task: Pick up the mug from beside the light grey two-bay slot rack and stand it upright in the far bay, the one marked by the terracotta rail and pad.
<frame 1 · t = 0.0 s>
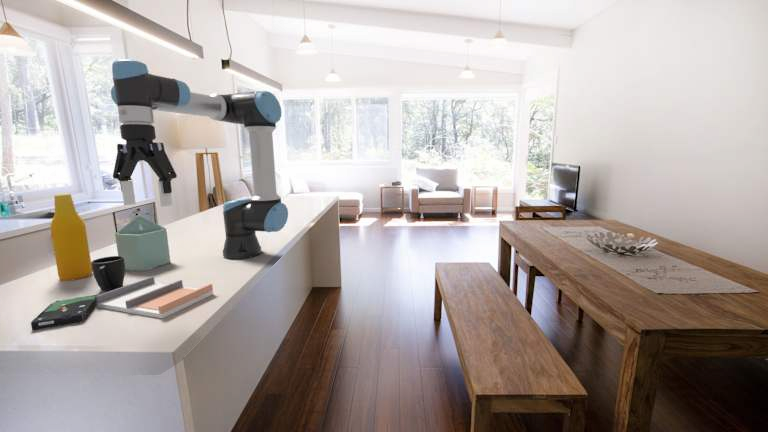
hand: (147, 205, 98), 28 cm above the table, tool pointing down, fingers open, 13 cm apart
planter: (144, 268, 136), on the table
disk drive: (69, 317, 96), on the table
mug: (110, 290, 114), on the table
slot rack: (157, 300, 104), on the table
beer bottle: (76, 277, 128), on the table
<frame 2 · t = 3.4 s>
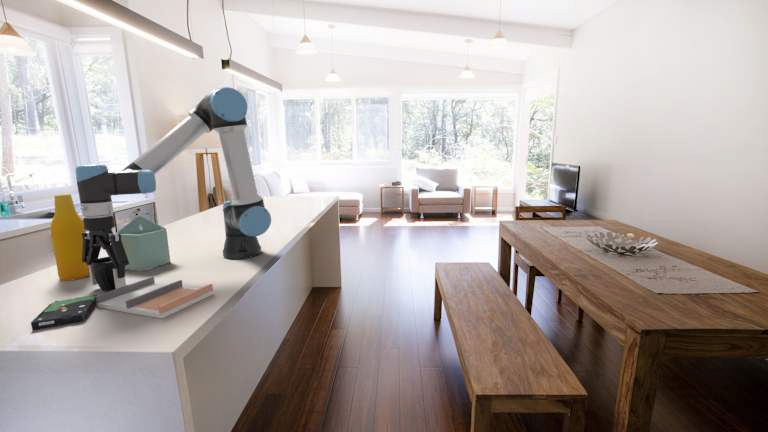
hand: (108, 285, 113), 1 cm above the table, tool pointing down, fingers open, 10 cm apart
mug: (110, 290, 114), on the table, touching gripper
everything else where it was.
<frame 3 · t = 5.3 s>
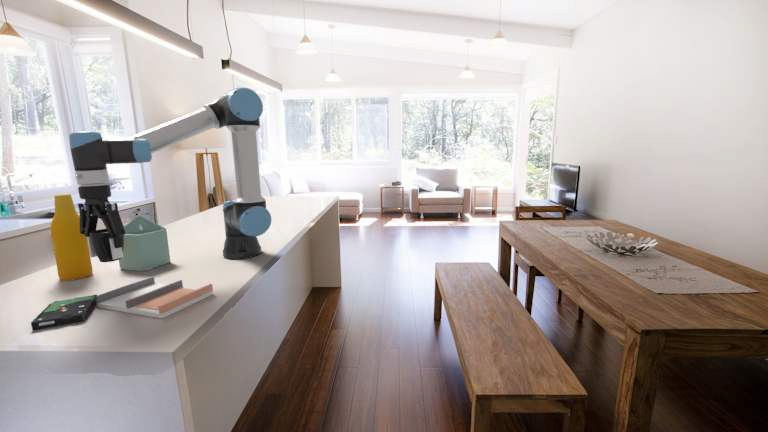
hand: (106, 257, 112), 11 cm above the table, tool pointing down, fingers closed on mug, 9 cm apart
mug: (109, 261, 112), point 9 cm above the table, touching gripper
everything else where it was.
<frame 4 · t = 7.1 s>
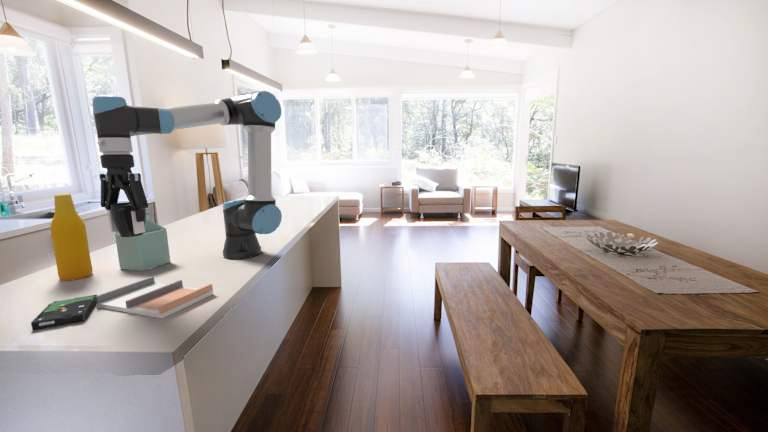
hand: (127, 232, 105), 20 cm above the table, tool pointing down, fingers closed on mug, 9 cm apart
mug: (130, 237, 105), point 18 cm above the table, touching gripper
everything else where it was.
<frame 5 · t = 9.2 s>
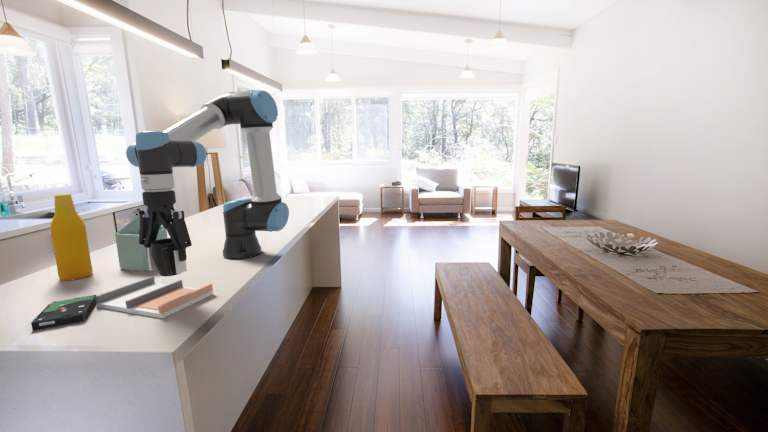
hand: (168, 270, 101), 10 cm above the table, tool pointing down, fingers closed on mug, 9 cm apart
mug: (170, 276, 101), point 8 cm above the table, touching gripper
everything else where it was.
when the fingers open (4 cm above the table, at t = 10.7 s): mug drops 1 cm, resting on slot rack.
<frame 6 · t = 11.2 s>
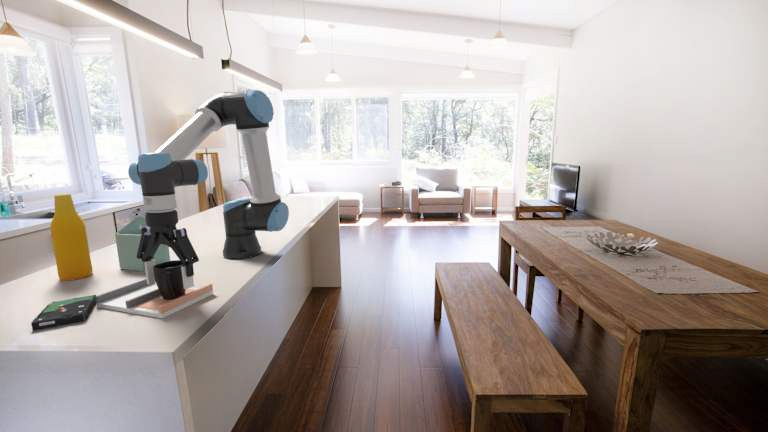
hand: (170, 285, 102), 5 cm above the table, tool pointing down, fingers open, 13 cm apart
mug: (173, 299, 102), point 1 cm above the table, touching slot rack
everything else where it was.
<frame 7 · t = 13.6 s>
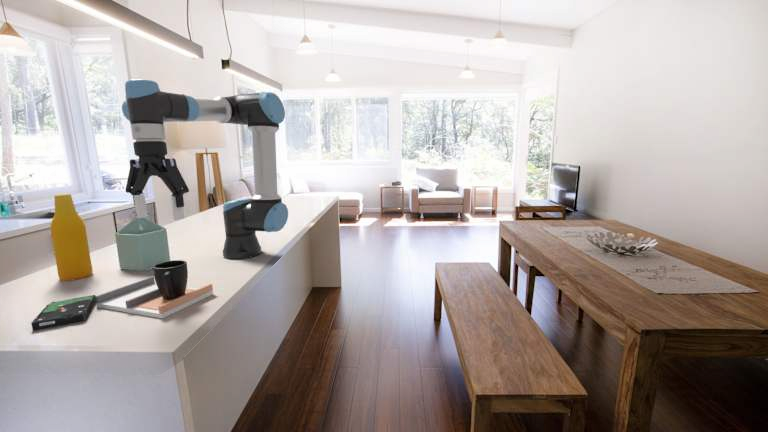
hand: (160, 218, 101), 24 cm above the table, tool pointing down, fingers open, 13 cm apart
nothing on the table moved.
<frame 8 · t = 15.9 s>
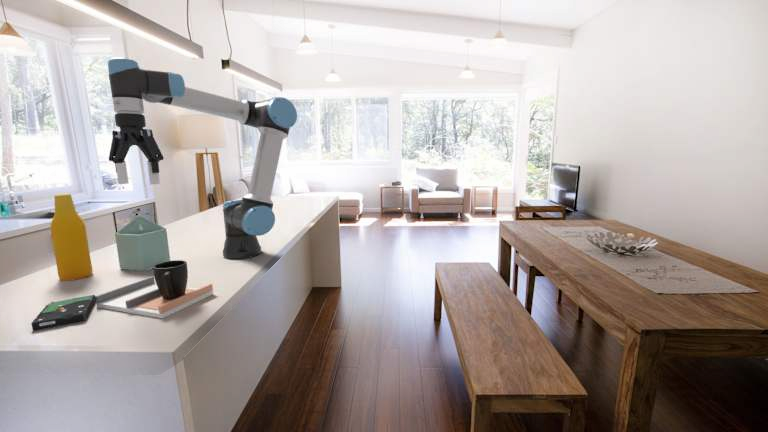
hand: (139, 184, 113), 33 cm above the table, tool pointing down, fingers open, 13 cm apart
nothing on the table moved.
at the end: mug 0.4 cm from the target spot on the slot rack, point 1.2 cm above the slot rack's base; mug tilted 0°; mug touching slot rack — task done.
